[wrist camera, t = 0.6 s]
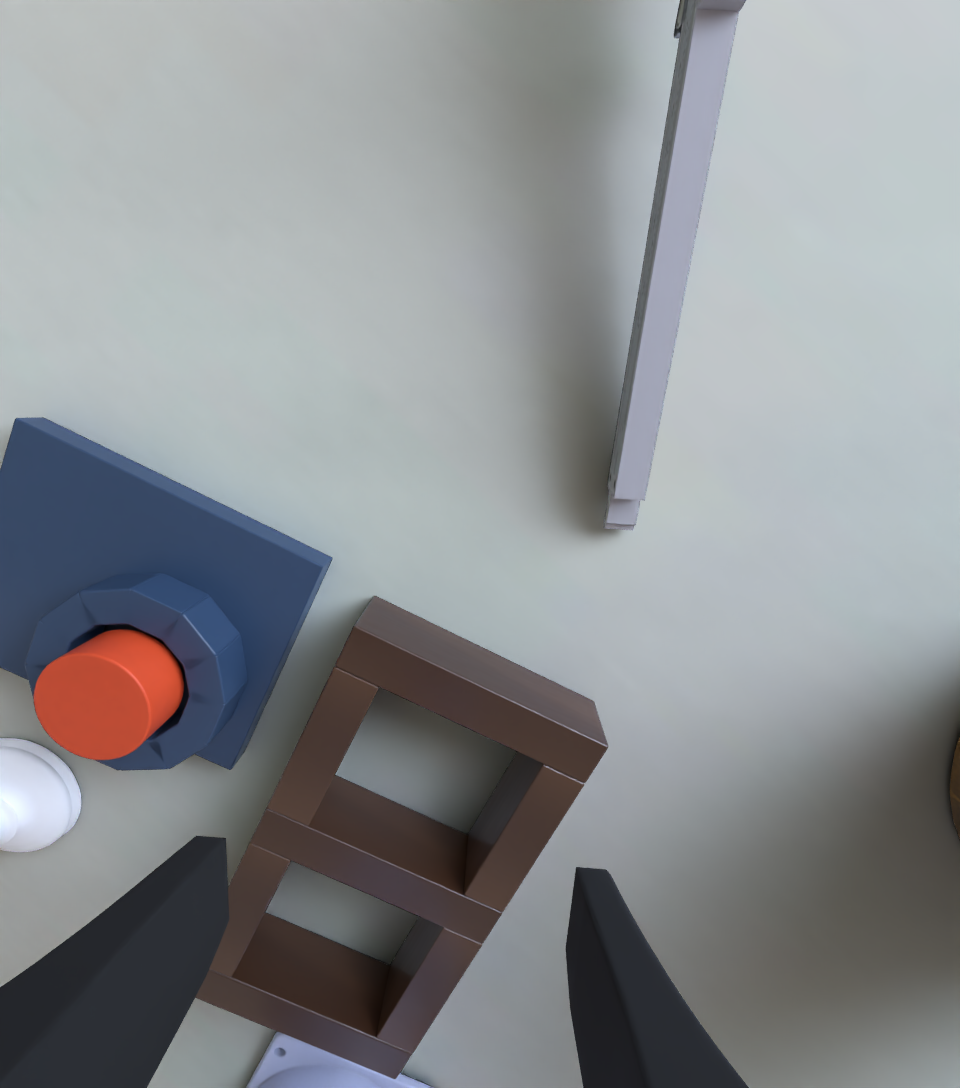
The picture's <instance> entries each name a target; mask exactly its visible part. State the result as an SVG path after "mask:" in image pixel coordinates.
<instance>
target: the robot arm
mask: <svg viewBox="0 0 960 1088" xmlns="http://www.w3.org/2000/svg"><path fill="white" fill-rule="evenodd" d="M228 922H229V900H228V877H227V855H226V838H217V837H205V836H196V837H194V838H193V839H192V840H191V841H189V842H188V843H187V844H186V845H185V846H183V847H182V848H181V849H180V850H178V851H177V852H176V853H175V854H173V855H172V856H171V857H170V858H169V859H167V860H166V861H165V862H164V863H163V864H161V865H160V866H159V867H158V868H156V869H155V870H154V871H153V872H152V873H150V874H149V875H148V876H147V877H146V878H144V879H143V880H142V881H141V882H140V883H138V884H137V885H136V886H135V887H133V888H132V889H131V890H130V891H129V892H127V893H126V894H125V895H124V896H122V897H121V898H120V899H119V900H117V901H116V902H115V903H114V904H112V905H111V906H110V907H109V908H107V909H106V910H105V911H104V912H102V913H101V914H100V915H99V916H97V917H96V918H95V919H94V920H92V921H91V922H90V923H88V924H87V925H86V926H84V927H83V928H82V929H80V930H79V931H78V932H76V933H75V934H74V935H72V936H71V937H70V938H68V939H67V940H66V941H64V942H63V943H62V944H60V945H59V946H58V947H56V948H55V949H54V950H52V951H51V952H50V953H48V954H47V955H46V956H44V957H43V958H42V959H40V960H39V961H38V962H36V963H35V964H33V965H32V966H30V967H29V968H28V969H26V970H25V971H23V972H22V973H21V974H19V975H18V976H16V977H15V978H13V979H12V980H10V981H9V982H7V983H6V984H5V985H3V986H2V987H0V1088H147V1086H148V1084H149V1082H150V1081H151V1079H152V1077H153V1075H154V1073H155V1071H156V1069H157V1068H158V1066H159V1064H160V1062H161V1060H162V1058H163V1056H164V1055H165V1053H166V1051H167V1049H168V1047H169V1045H170V1043H171V1042H172V1040H173V1038H174V1036H175V1034H176V1032H177V1030H178V1029H179V1027H180V1025H181V1023H182V1021H183V1019H184V1017H185V1015H186V1014H187V1012H188V1010H189V1008H190V1006H191V1004H192V1002H193V1000H194V999H195V997H196V995H197V993H198V991H199V989H200V987H201V985H202V983H203V981H204V979H205V978H206V975H207V973H208V971H209V968H210V966H211V964H212V961H213V959H214V957H215V954H216V952H217V949H218V947H219V944H220V942H221V939H222V937H223V934H224V932H225V929H226V927H227V924H228ZM566 959H567V973H568V987H569V999H570V1010H571V1016H572V1022H573V1028H574V1034H575V1040H576V1046H577V1052H578V1058H579V1064H580V1070H581V1076H582V1082H583V1088H749V1087H748V1086H747V1085H746V1084H745V1082H744V1081H743V1080H742V1078H741V1077H740V1076H739V1075H738V1073H737V1072H736V1071H735V1069H734V1068H733V1067H732V1066H731V1064H730V1063H729V1062H728V1060H727V1059H726V1058H725V1057H724V1055H723V1054H722V1053H721V1051H720V1050H719V1049H718V1047H717V1046H716V1044H715V1043H714V1042H713V1040H712V1039H711V1038H710V1036H709V1035H708V1033H707V1032H706V1031H705V1029H704V1028H703V1027H702V1025H701V1024H700V1022H699V1021H698V1019H697V1018H696V1016H695V1015H694V1014H693V1012H692V1011H691V1009H690V1008H689V1006H688V1005H687V1003H686V1002H685V1000H684V999H683V998H682V996H681V994H680V993H679V991H678V990H677V988H676V987H675V985H674V984H673V982H672V981H671V979H670V978H669V976H668V974H667V973H666V971H665V970H664V968H663V966H662V965H661V963H660V962H659V960H658V958H657V957H656V955H655V954H654V952H653V950H652V949H651V947H650V945H649V944H648V942H647V940H646V939H645V937H644V935H643V934H642V932H641V930H640V928H639V927H638V925H637V923H636V921H635V920H634V918H633V916H632V914H631V912H630V911H629V909H628V907H627V905H626V903H625V901H624V900H623V898H622V896H621V894H620V892H619V890H618V888H617V886H616V884H615V882H614V880H613V878H612V876H611V875H610V873H609V872H608V871H607V870H605V869H593V868H581V867H576V873H575V880H574V888H573V896H572V904H571V911H570V919H569V927H568V935H567V942H566ZM246 1088H433V1087H431V1086H429V1085H427V1084H424V1083H422V1082H419V1081H417V1080H415V1079H412V1078H410V1077H407V1076H405V1075H402V1074H399V1075H398V1077H397V1078H396V1079H392V1078H390V1077H387V1076H385V1075H383V1074H380V1073H378V1072H375V1071H373V1070H370V1069H368V1068H365V1067H363V1066H361V1065H358V1064H356V1063H353V1062H351V1061H348V1060H346V1059H344V1058H341V1057H339V1056H336V1055H334V1054H331V1053H329V1052H327V1051H324V1050H322V1049H319V1048H317V1047H314V1046H312V1045H309V1044H307V1043H305V1042H302V1041H300V1040H297V1039H295V1038H292V1037H290V1036H288V1035H285V1034H283V1033H280V1032H278V1031H277V1032H276V1034H275V1036H274V1037H273V1039H272V1041H271V1043H270V1045H269V1047H268V1048H267V1050H266V1052H265V1054H264V1056H263V1057H262V1059H261V1061H260V1063H259V1065H258V1067H257V1068H256V1070H255V1072H254V1074H253V1076H252V1077H251V1079H250V1081H249V1083H248V1085H247V1086H246Z"/></svg>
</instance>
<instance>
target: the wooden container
mask: <svg viewBox="0 0 960 1088" xmlns="http://www.w3.org/2000/svg"><path fill="white" fill-rule="evenodd" d="M950 800H951V808H952V815H953V821H954V825H955V827H956V829H957V834H958V837H959V839H960V737H959V740H958V742H957V746H956V749H955V754H954V758H953V764H952V770H951V781H950Z"/></svg>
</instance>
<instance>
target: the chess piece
mask: <svg viewBox="0 0 960 1088" xmlns="http://www.w3.org/2000/svg"><path fill="white" fill-rule="evenodd" d="M80 810H81V792H80V788H79V785H78V783H77V780H76V778H75V776H74V775H73V773H72V771H71V770H70V769H69V767H68V766H67V765H66V764H65V763H64V762H63V761H62V760H61V759H60V758H59V757H58V756H57V755H56V754H54V753H53V752H51V751H50V750H48V749H47V748H45V747H43V746H41V745H39V744H36V743H34V742H31V741H27V740H23V739H17V738H1V739H0V849H1V850H5V851H10V852H31V851H36V850H40V849H42V848H45V847H47V846H49V845H51V844H52V843H54V842H55V841H56V840H57V839H58V838H59V837H61V836H63V835H64V834H66V833H67V832H68V831H69V830H70V829H71V828H72V827H73V826H74V824H75V823H76V821H77V819H78V817H79V814H80Z"/></svg>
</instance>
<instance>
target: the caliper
mask: <svg viewBox="0 0 960 1088" xmlns="http://www.w3.org/2000/svg"><path fill="white" fill-rule="evenodd" d="M745 1H746V0H680V4H679V8H678V14H677V19H676V24H675V30H674V38H680V39H679V45H678V51H677V57H676V63H675V70H674V76H673V82H672V88H671V94H670V101H669V107H668V113H667V119H666V125H665V132H664V138H663V144H662V150H661V156H660V162H659V169H658V175H657V181H656V187H655V193H654V200H653V206H652V212H651V218H650V224H649V231H648V237H647V243H646V249H645V255H644V261H643V268H642V274H641V280H640V286H639V292H638V298H637V304H636V311H635V317H634V323H633V329H632V335H631V341H630V347H629V353H628V360H627V366H626V372H625V378H624V384H623V390H622V396H621V402H620V408H619V415H618V421H617V427H616V433H615V439H614V445H613V451H612V457H611V464H610V470H609V476H608V483H607V486H608V488H609V496H608V502H607V508H606V513H605V520H604V528H610V529H624V530H633V529H634V525H636V520H637V515H638V510H639V505H640V500H645V496H646V491H647V486H648V481H649V475H650V470H651V465H652V460H653V455H654V450H655V444H656V439H657V434H658V429H659V424H660V419H661V414H662V408H663V403H664V398H665V393H666V388H667V383H668V377H669V372H670V367H671V362H672V357H673V352H674V346H675V341H676V336H677V331H678V326H679V320H680V315H681V310H682V305H683V300H684V294H685V289H686V284H687V279H688V274H689V269H690V263H691V258H692V253H693V248H694V243H695V237H696V232H697V227H698V222H699V217H700V211H701V206H702V201H703V196H704V191H705V185H706V180H707V175H708V170H709V165H710V159H711V154H712V149H713V144H714V139H715V133H716V128H717V123H718V118H719V113H720V107H721V102H722V97H723V92H724V87H725V82H726V76H727V71H728V66H729V61H730V56H731V50H732V45H733V40H734V35H735V30H736V24H737V19H738V14H739V11H740V10H741V9H742V7H743V5H744V3H745Z"/></svg>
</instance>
